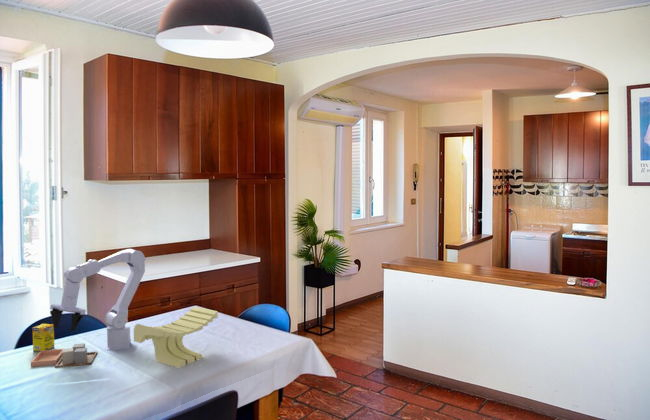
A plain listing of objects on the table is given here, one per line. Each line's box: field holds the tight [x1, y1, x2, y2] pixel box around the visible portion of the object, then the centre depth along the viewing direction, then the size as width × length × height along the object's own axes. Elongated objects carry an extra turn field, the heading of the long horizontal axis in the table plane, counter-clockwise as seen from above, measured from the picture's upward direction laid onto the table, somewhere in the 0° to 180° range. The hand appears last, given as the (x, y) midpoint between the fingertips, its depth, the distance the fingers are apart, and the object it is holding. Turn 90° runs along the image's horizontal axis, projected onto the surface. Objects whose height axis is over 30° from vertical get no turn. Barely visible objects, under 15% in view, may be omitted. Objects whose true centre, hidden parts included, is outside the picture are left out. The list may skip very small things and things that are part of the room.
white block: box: [61, 347, 74, 365], centre depth 199 cm, size 4×4×5 cm
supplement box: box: [31, 323, 55, 353], centre depth 214 cm, size 6×6×11 cm
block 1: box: [71, 342, 86, 355], centre depth 205 cm, size 4×4×5 cm
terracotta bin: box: [30, 348, 63, 368], centre depth 202 cm, size 9×13×2 cm
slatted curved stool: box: [133, 306, 219, 369], centre depth 204 cm, size 30×16×18 cm, turn 146°
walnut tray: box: [54, 351, 98, 369], centre depth 202 cm, size 13×13×1 cm
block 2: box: [74, 347, 88, 364], centre depth 200 cm, size 4×4×5 cm
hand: (64, 329), depth 203 cm, fingers open, 7 cm apart
